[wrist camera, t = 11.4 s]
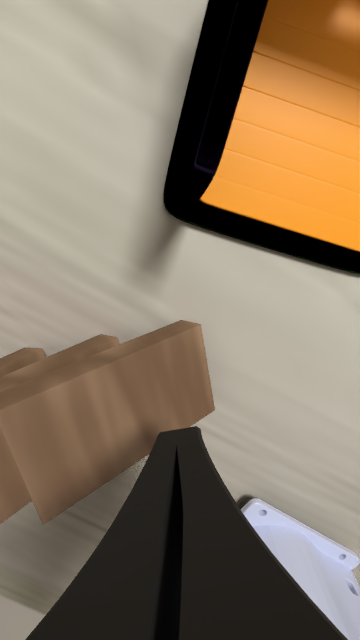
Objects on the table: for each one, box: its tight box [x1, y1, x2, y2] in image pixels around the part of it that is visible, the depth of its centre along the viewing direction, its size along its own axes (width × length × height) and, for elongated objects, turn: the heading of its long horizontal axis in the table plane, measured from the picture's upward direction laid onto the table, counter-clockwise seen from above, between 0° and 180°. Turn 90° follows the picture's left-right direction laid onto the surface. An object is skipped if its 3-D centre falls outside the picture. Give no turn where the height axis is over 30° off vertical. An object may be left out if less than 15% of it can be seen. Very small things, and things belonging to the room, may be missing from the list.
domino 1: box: [0, 334, 119, 524], centre depth 13 cm, size 2×5×9 cm
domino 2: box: [0, 320, 215, 524], centre depth 13 cm, size 2×5×9 cm
